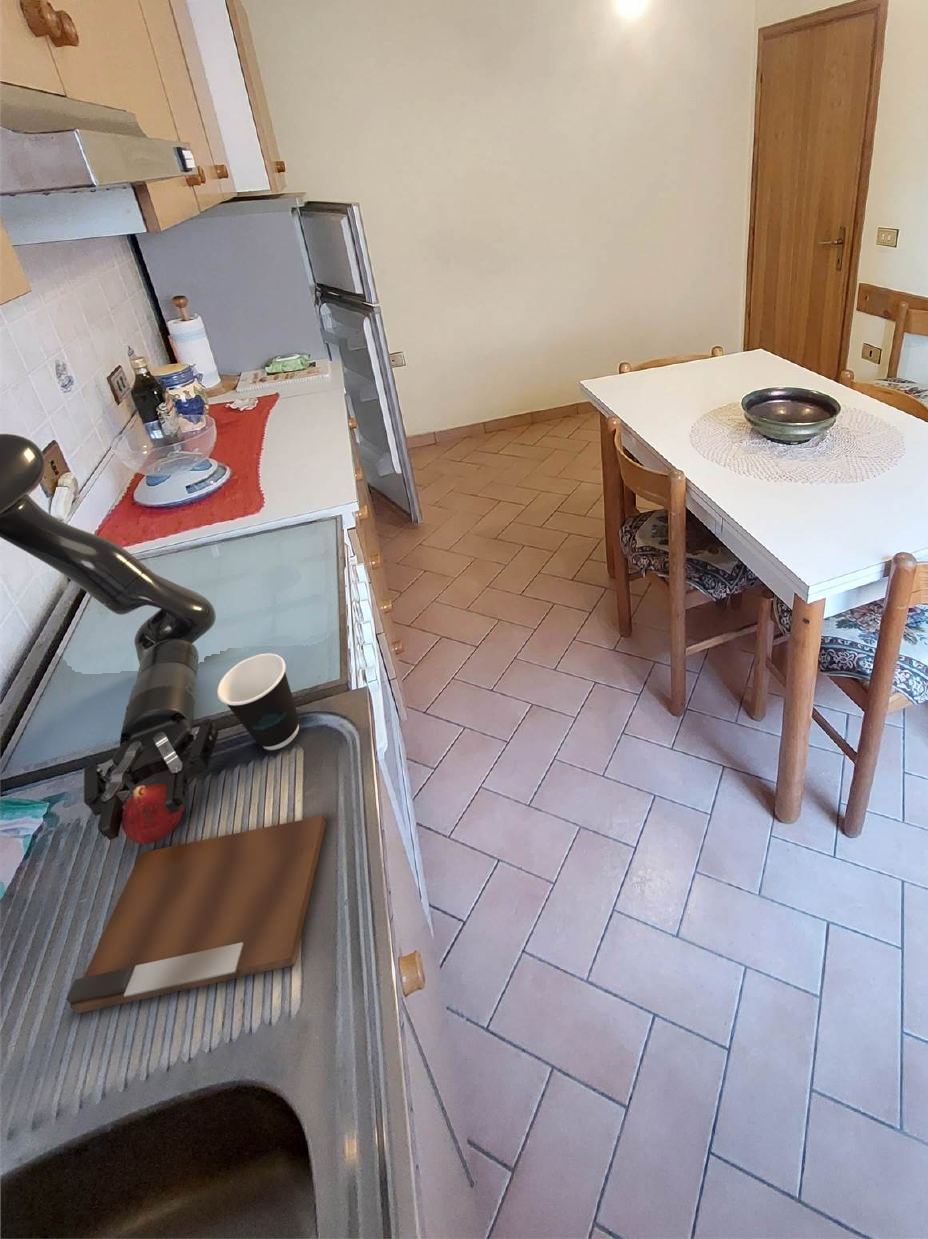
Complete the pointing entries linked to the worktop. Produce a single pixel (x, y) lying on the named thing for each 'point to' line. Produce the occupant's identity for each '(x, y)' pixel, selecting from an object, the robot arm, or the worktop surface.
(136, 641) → the robot arm
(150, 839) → the onion
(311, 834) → the cutting board
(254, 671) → the dixie cup
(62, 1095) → the worktop surface
